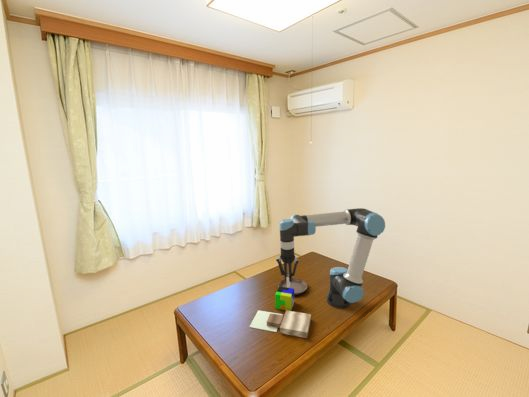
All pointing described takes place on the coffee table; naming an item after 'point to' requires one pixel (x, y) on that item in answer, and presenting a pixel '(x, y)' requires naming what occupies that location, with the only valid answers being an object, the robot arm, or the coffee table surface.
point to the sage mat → (263, 321)
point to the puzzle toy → (284, 298)
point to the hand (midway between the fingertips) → (288, 286)
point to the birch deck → (295, 324)
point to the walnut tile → (274, 320)
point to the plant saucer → (295, 285)
